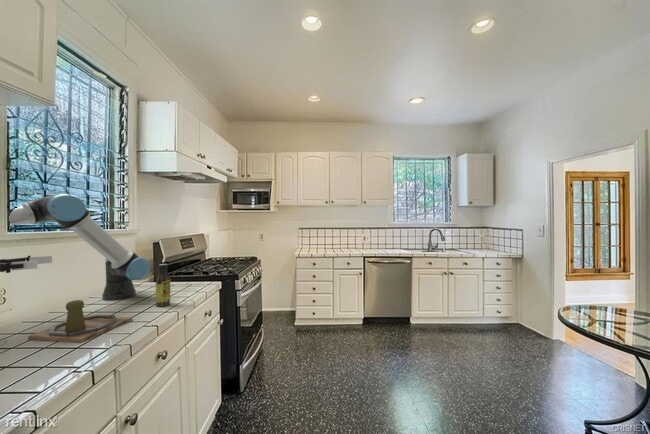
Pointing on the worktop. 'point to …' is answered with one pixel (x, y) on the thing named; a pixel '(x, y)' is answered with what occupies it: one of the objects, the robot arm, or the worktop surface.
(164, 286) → the sauce bottle
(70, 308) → the cork
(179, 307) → the worktop surface
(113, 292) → the robot arm
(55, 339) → the walnut board
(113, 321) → the steel ring
